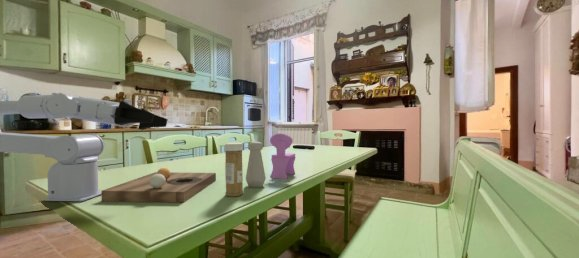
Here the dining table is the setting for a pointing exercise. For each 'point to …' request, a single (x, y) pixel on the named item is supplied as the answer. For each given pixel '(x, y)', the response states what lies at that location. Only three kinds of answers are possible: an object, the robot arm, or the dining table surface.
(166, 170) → the orange ball
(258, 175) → the salt shaker
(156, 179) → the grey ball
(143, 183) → the board
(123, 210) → the dining table surface
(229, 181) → the spice jar
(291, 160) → the toy chair
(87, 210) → the dining table surface
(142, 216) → the dining table surface
